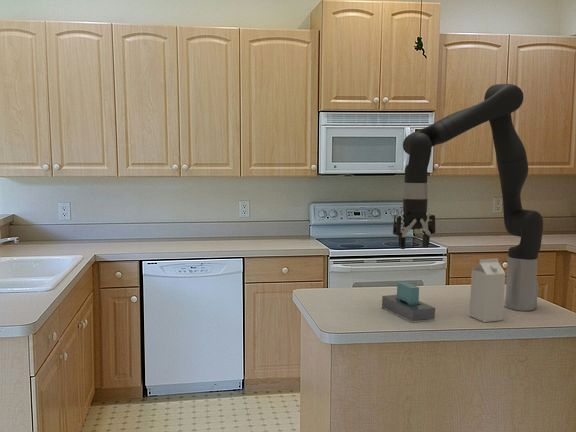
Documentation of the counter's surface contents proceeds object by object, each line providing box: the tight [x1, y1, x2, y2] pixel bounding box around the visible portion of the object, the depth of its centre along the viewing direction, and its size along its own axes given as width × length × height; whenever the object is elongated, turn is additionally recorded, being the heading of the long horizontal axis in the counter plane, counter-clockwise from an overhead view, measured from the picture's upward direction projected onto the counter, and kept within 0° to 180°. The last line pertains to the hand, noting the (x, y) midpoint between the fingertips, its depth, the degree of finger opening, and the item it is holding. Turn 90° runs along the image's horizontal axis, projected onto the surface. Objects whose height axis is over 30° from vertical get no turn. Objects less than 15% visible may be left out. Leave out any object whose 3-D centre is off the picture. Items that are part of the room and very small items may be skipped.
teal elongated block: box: [396, 281, 420, 306], centre depth 182 cm, size 8×3×9 cm, turn 21°
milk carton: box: [469, 258, 506, 323], centre depth 178 cm, size 7×7×19 cm
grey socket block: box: [381, 294, 436, 324], centre depth 183 cm, size 18×8×4 cm, turn 21°
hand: (413, 247), depth 182 cm, fingers open, 8 cm apart
